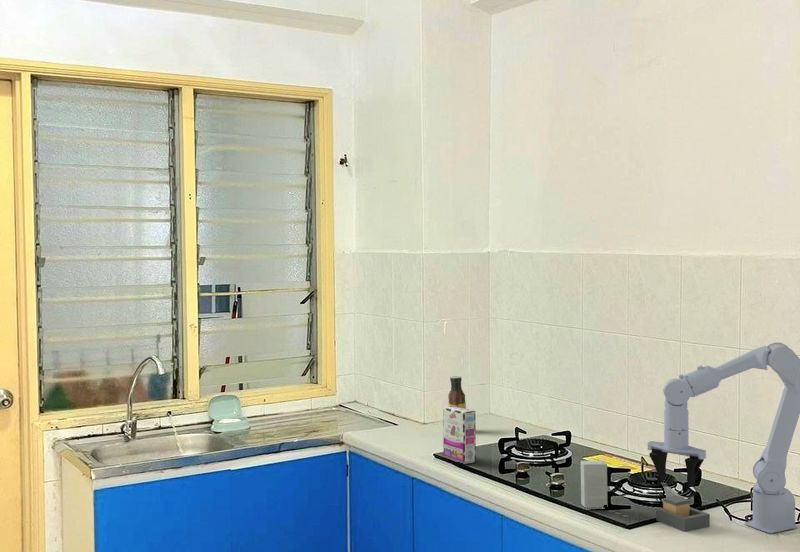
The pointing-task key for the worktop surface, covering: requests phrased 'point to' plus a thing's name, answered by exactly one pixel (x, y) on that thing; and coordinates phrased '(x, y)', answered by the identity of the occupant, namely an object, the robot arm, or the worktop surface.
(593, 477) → the skincare box
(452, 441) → the candy bar box
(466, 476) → the worktop surface
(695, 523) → the socket
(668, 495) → the clip
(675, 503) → the plug
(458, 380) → the sauce bottle
